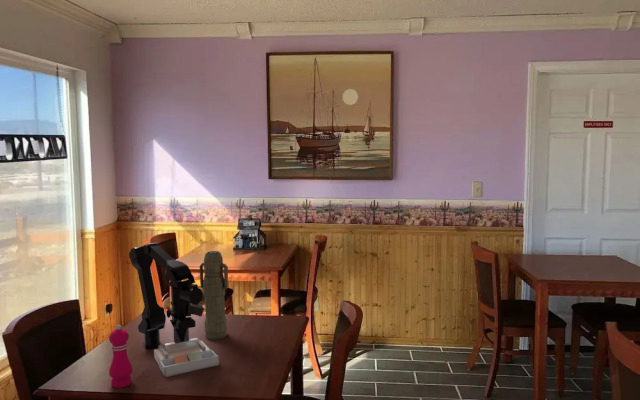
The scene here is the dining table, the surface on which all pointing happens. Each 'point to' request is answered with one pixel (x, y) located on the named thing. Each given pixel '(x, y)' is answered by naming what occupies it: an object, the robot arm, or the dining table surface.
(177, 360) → the terracotta tile
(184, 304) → the robot arm
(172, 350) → the grey panel
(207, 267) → the thermos
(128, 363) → the pepper mill
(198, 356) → the sage tile
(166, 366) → the tray
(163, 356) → the white shallow box
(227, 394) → the dining table surface
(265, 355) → the dining table surface
